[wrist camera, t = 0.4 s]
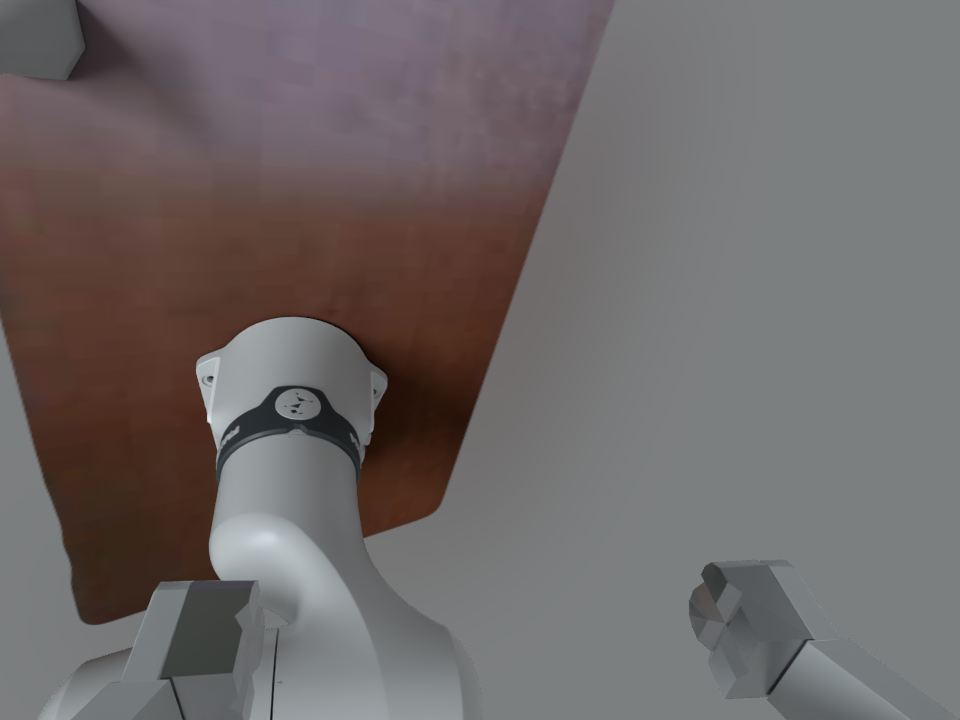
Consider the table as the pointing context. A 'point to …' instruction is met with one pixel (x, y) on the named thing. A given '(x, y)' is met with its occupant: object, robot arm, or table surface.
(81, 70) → the table surface
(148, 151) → the table surface
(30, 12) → the flask
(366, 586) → the robot arm
